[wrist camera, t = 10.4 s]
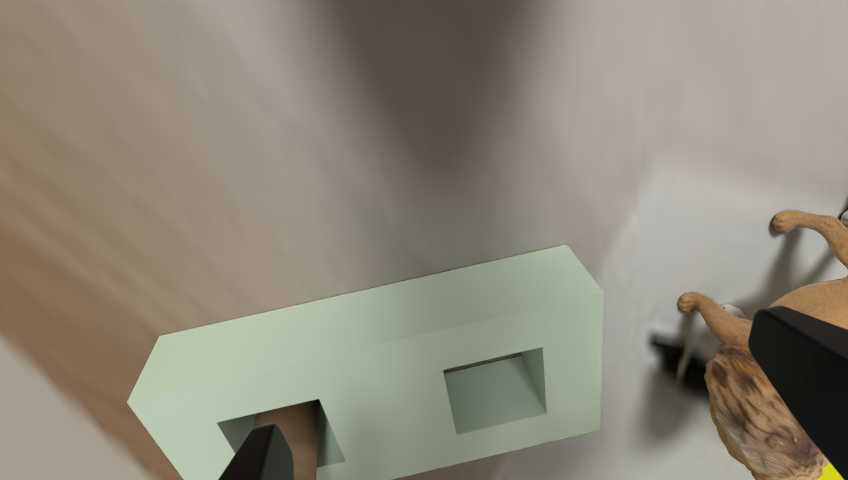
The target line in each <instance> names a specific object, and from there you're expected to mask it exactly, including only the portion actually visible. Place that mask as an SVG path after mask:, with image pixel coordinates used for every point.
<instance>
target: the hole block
mask: <svg viewBox="0 0 848 480" xmlns="http://www.w3.org/2000/svg"><path fill="white" fill-rule="evenodd" d="M603 320H604V292H603V291H602V289H601V288H600V287H599V285H598V284H597V283H596V282H595V280H594V279H593V278H592V276H591V275H590V274H589V272H588V271H587V270H586V269H585V267H584V266H583V265H582V263H581V262H580V261H579V260H578V258H577V257H576V256H575V254H574V253H573V252H572V250H571V249H570V248H569V247H568V245H567V244H566V245H561V246H557V247H552V248H548V249H543V250H539V251H535V252H530V253H526V254H521V255H517V256H512V257H508V258H504V259H499V260H495V261H490V262H486V263H481V264H477V265H473V266H468V267H464V268H459V269H455V270H450V271H446V272H442V273H437V274H433V275H428V276H424V277H419V278H415V279H410V280H406V281H402V282H397V283H393V284H388V285H384V286H379V287H375V288H371V289H366V290H362V291H357V292H353V293H348V294H344V295H340V296H335V297H331V298H326V299H322V300H317V301H313V302H308V303H304V304H300V305H295V306H291V307H286V308H282V309H277V310H273V311H269V312H264V313H260V314H255V315H251V316H246V317H242V318H238V319H233V320H229V321H224V322H220V323H215V324H211V325H206V326H202V327H198V328H193V329H189V330H184V331H180V332H175V333H171V334H167V335H162V336H159V338H158V340H157V342H156V344H155V346H154V348H153V350H152V352H151V355H150V357H149V359H148V361H147V363H146V365H145V367H144V369H143V371H142V373H141V375H140V377H139V379H138V381H137V383H136V385H135V387H134V389H133V391H132V393H131V395H130V397H129V399H128V401H127V403H128V405H129V406H130V407H131V409H132V410H133V411H134V413H135V414H136V415H137V417H138V418H139V419H140V421H141V422H142V424H143V425H144V426H145V428H146V429H147V430H148V432H149V433H150V434H151V436H152V437H153V438H154V440H155V441H156V443H157V444H158V445H159V447H160V448H161V449H162V451H163V452H164V453H165V455H166V456H167V457H168V459H169V460H170V462H171V463H172V464H173V466H174V467H175V468H176V470H177V471H178V472H179V474H180V475H181V476H182V478H183V479H184V480H218V479H219V478H220V476H221V475H222V473H223V472H224V470H225V469H226V467H227V466H228V464H229V463H230V461H231V460H232V458H233V457H234V455H235V454H236V452H237V451H238V449H239V448H240V446H241V445H242V443H243V442H244V440H245V439H246V437H247V436H248V434H249V433H250V431H251V430H252V429H253V425H254V420H255V415H256V413H260V412H264V411H268V410H273V409H277V408H281V407H286V406H290V405H294V404H299V403H303V402H307V401H312V400H316V399H319V400H320V402H321V403H320V421H319V438H318V456H317V473H316V480H393V479H397V478H401V477H405V476H409V475H414V474H418V473H422V472H426V471H430V470H435V469H439V468H443V467H447V466H451V465H456V464H460V463H464V462H468V461H472V460H477V459H481V458H485V457H489V456H493V455H498V454H502V453H506V452H510V451H514V450H519V449H523V448H527V447H531V446H535V445H539V444H544V443H548V442H552V441H556V440H560V439H565V438H569V437H573V436H577V435H581V434H586V433H590V432H594V431H598V430H600V423H601V389H602V355H603ZM519 352H521V356H518V357H514V358H510V359H505V360H501V361H497V362H492V363H488V364H484V365H480V366H475V367H471V368H467V369H462V370H458V371H454V372H449V373H445V374H444V373H443V370H445V369H450V368H454V367H458V366H462V365H467V364H471V363H475V362H480V361H484V360H488V359H493V358H497V357H501V356H506V355H510V354H514V353H519Z"/></svg>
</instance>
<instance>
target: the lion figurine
mask: <svg viewBox="0 0 848 480" xmlns="http://www.w3.org/2000/svg"><path fill="white" fill-rule="evenodd" d="M772 226H773V227H774V229H775V230H777V231H778V232H780V233H783V234H785V233H788V232H790V231H792V230H794V229H795V228H798V227H805V228H809V229H812V230H815V231H817V232H818V233H820V234H821V235H822V236H823V237H824V238H825V240H826V241H827V243H828V245H829V246H830V248H831V249H832V251H833V253H834V254H835V256H836V257H837V258H838V259H839V261H840V262H842V263H843V264H844V265H845V266H846V267H847V269H848V229H847V228H846V227H848V210H847V211H845V212H844V213H843V214H842V217H841V221H840V220H838V219H837V218H835V217H832V216H825V215H816V214H810V213H805V212H802V211H798V210H786V211H783V212H781V213H779V214H777V215H776V216H775V217H774V219H773V221H772ZM845 226H846V227H845ZM678 305H679V307H680V309H681V310H683V311H685V312H688V313H690V312H692V311H693V310H697V311H698V312H700V313H701V315H702V317H703V319H704V320H705V322H706V324H707V325H708V327H709V328H710V330H711V331H712V332H713V334H714V335H715V336H716V337H717V338H718V339H719V340H720V342H721V343H722V344H721V345H720V346H719V347H718V348H717V351H716V353H715V355H714V357H713V359H711V360H709V362H708V363H707V364H706V373H705V375H704V378H705V381H706V384H707V388H708V391H709V393H710V395H709V402H710V413H711V417H712V420H713V422H714V424H715V425H716V427H717V430H718V433H719V436H720V438H721V440H722V442H723V443H724V445H725V446H726V448H727V450H728V452H729V454H730V455H731V456H732V457H733V458H735V459H736V460H737V461H739V462H740V463H742V464H744V465H745V466H746V468H747V469H748V470H750V471H751V473H752V476H753V477H754V478H755V479H756V480H816V479H818V478H820V477H821V476H822V475H823V467H826V466H827V465H828V464H829V461H828V460H827V458H826V457H825V456H824V455H823V454H822V452H821V451H820V450H819V449H818V448H817V446H816V445H815V444H814V443H813V441H812V440H811V439H810V438H809V436H808V435H807V434H806V433H805V431H804V430H803V429H802V428H801V426H800V425H799V423H798V422H797V421H796V419H795V418H794V417H793V415H792V414H791V412H790V411H789V409H788V408H787V406H786V405H785V403H784V402H783V400H782V399H781V397H780V396H779V395H778V393H777V392H776V390H775V389H774V387H773V386H772V384H771V383H770V381H769V380H768V378H767V377H766V375H765V374H764V372H763V371H762V369H761V368H760V367H759V365H758V364H757V362H756V361H755V359H754V358H753V356H752V354H751V353H750V350H749V347H748V338H749V334H750V330H751V326H752V321H751V320H750V319H749V318H748V317H747V316H746V315H745V314H744V313H743V311H742V310H741V309H740V308H738V307H734V306H732V305H730V304H724V305H721V306H720V305H718V304H717V303H716V302H715V301H714V300H713V299H712V298H710V297H707V296H705V295H703V294H700V293H698V292H689V293H685V294H683V295H682V296H681V297H680V299H679V301H678ZM776 305H781V306H785V307H788V308H791V309H794V310H796V311H799V312H802V313H804V314H807V315H810V316H812V317H815V318H818V319H820V320H823V321H826V322H828V323H831V324H834V325H837V326H839V327H842V328H845V329H847V330H848V276H847V277H845V278H843V279H837V280H830V281H823V282H816V283H812V284H809V285H805V286H802V287H799V288H797V289H795V290H793V291H791V292H789V293H787V294H786V295H784V296H782V297H781V298H779V299H778V300H776V301H775V302H774V303H773V304H771V305H770V306H769V307H771V306H776Z"/></svg>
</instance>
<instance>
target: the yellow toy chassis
mask: <svg viewBox="0 0 848 480" xmlns="http://www.w3.org/2000/svg"><path fill="white" fill-rule="evenodd" d="M816 480H844V479H843V478H842V477H841V475H840V474H839V473H838V472H837V471H836V469H835V468H834V467H833V466H832V464H831V463H830V462H829V464H828V465H827V466H826V467H823V475H822V476H821V477H820V478H818V479H816Z"/></svg>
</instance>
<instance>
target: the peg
mask: <svg viewBox="0 0 848 480" xmlns="http://www.w3.org/2000/svg"><path fill="white" fill-rule="evenodd" d="M320 403H321V402H320V400H319V399H316V400H312V401H307V402H303V403H299V404H294V405H290V406H286V407H281V408H277V409H273V410H268V411H264V412H260V413H256V415H255V420H254V425H253V428H255V427H258V426H262V425H266V424H270V423H276V424H277V425H278V426H279V427H280V429H281V431H282V433H283V435H284V437H285V439H286V441H287V443H288V444H289V446H290V448H291V451H292V454H293V461H294V480H316V473H317V456H318V438H319V421H320Z"/></svg>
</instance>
